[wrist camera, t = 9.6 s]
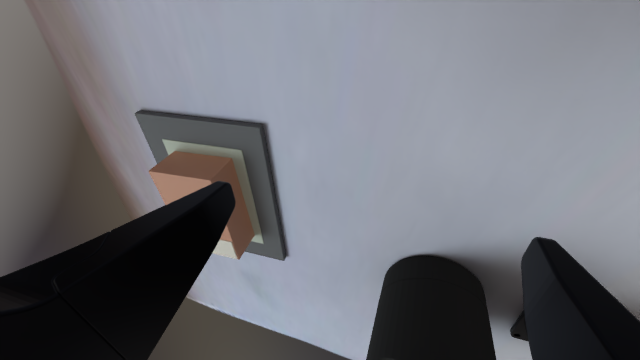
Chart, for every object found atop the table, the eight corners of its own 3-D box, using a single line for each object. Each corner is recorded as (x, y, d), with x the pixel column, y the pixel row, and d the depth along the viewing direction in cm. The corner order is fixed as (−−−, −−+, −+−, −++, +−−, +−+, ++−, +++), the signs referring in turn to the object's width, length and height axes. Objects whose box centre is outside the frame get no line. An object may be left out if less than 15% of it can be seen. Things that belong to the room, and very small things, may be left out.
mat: (286, 256, 33) (283, 261, 32) (194, 234, 36) (190, 238, 36) (262, 124, 23) (258, 128, 23) (139, 110, 26) (133, 113, 26)
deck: (174, 150, 27) (147, 171, 25) (231, 158, 25) (209, 181, 23) (205, 225, 33) (186, 248, 30) (254, 235, 31) (238, 260, 29)
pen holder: (380, 243, 27) (356, 357, 20) (498, 259, 24) (524, 402, 17) (382, 302, 33) (364, 409, 25) (478, 321, 29) (491, 450, 22)
